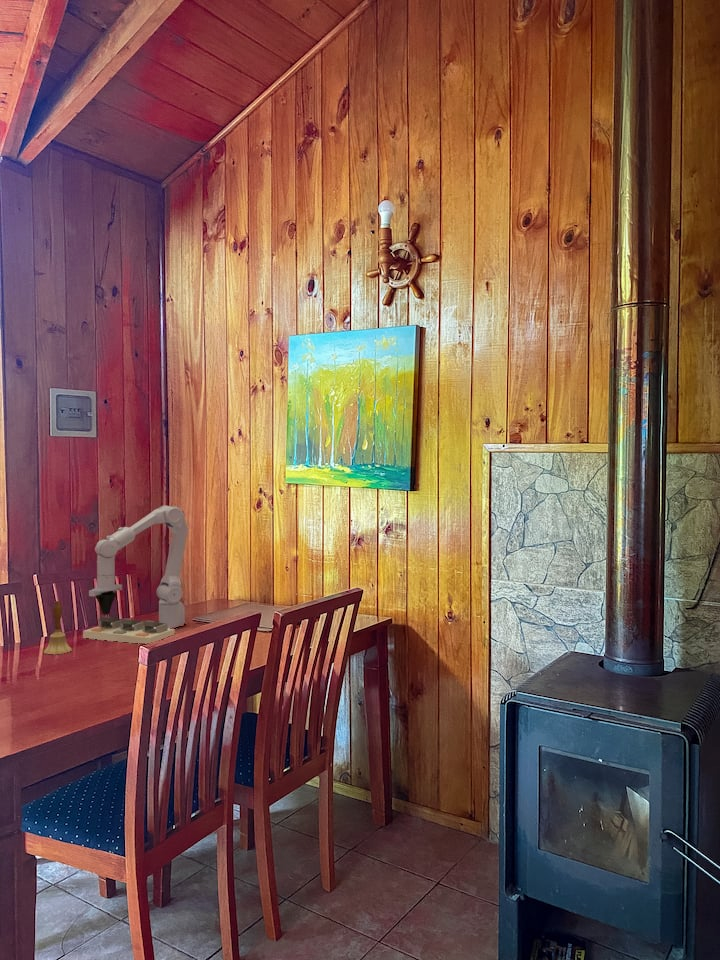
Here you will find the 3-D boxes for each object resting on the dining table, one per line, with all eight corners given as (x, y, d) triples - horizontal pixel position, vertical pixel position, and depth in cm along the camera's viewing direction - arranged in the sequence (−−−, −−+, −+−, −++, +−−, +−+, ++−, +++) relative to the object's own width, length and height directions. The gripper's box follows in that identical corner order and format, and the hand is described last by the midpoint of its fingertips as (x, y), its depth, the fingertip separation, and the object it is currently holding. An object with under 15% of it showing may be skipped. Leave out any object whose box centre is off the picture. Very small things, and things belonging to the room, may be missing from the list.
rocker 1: (113, 623, 257) (114, 618, 257) (123, 624, 256) (124, 618, 256) (98, 621, 250) (99, 615, 250) (108, 622, 248) (109, 616, 249)
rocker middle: (134, 625, 254) (135, 620, 254) (144, 626, 253) (145, 621, 253) (120, 623, 247) (121, 618, 247) (130, 624, 245) (131, 619, 246)
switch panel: (110, 629, 259) (110, 616, 259) (174, 636, 250) (174, 622, 250) (83, 638, 246) (83, 624, 246) (149, 645, 237) (149, 631, 237)
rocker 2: (156, 627, 251) (157, 622, 251) (166, 628, 249) (167, 623, 250) (142, 625, 244) (143, 620, 244) (152, 626, 242) (153, 621, 243)
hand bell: (65, 655, 224) (65, 603, 224) (38, 654, 224) (38, 603, 224) (76, 648, 233) (76, 598, 232) (50, 648, 233) (50, 598, 232)
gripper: (110, 571, 258) (110, 609, 258) (81, 576, 244) (81, 617, 245) (126, 572, 256) (126, 610, 256) (98, 578, 242) (98, 618, 242)
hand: (105, 614), depth 250 cm, fingers closed
